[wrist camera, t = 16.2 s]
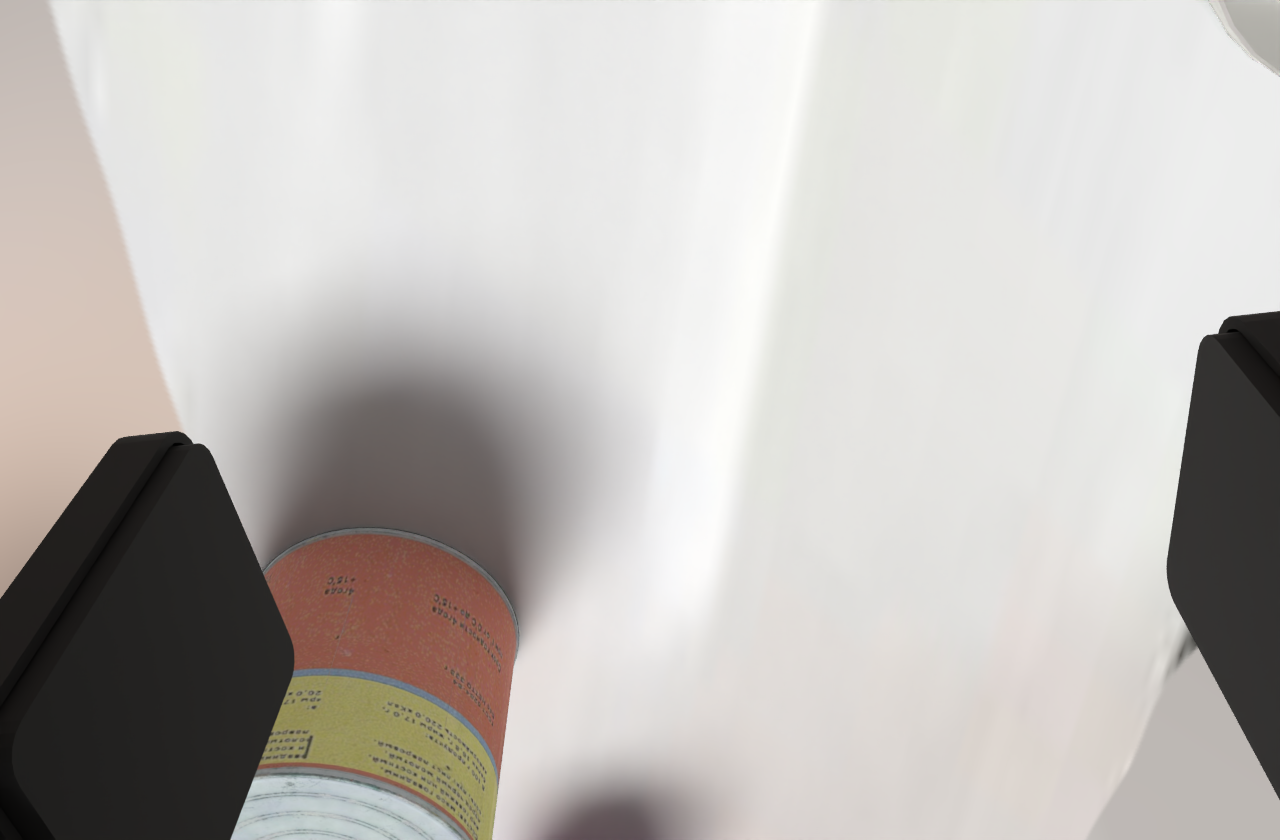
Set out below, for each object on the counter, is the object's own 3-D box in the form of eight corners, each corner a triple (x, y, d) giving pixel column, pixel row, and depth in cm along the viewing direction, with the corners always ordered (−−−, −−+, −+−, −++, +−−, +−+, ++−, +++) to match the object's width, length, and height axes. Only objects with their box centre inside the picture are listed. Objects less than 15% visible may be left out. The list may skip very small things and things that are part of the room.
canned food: (201, 558, 45) (78, 807, 35) (467, 501, 44) (417, 746, 34) (314, 741, 51) (236, 999, 41) (551, 698, 50) (530, 955, 40)
